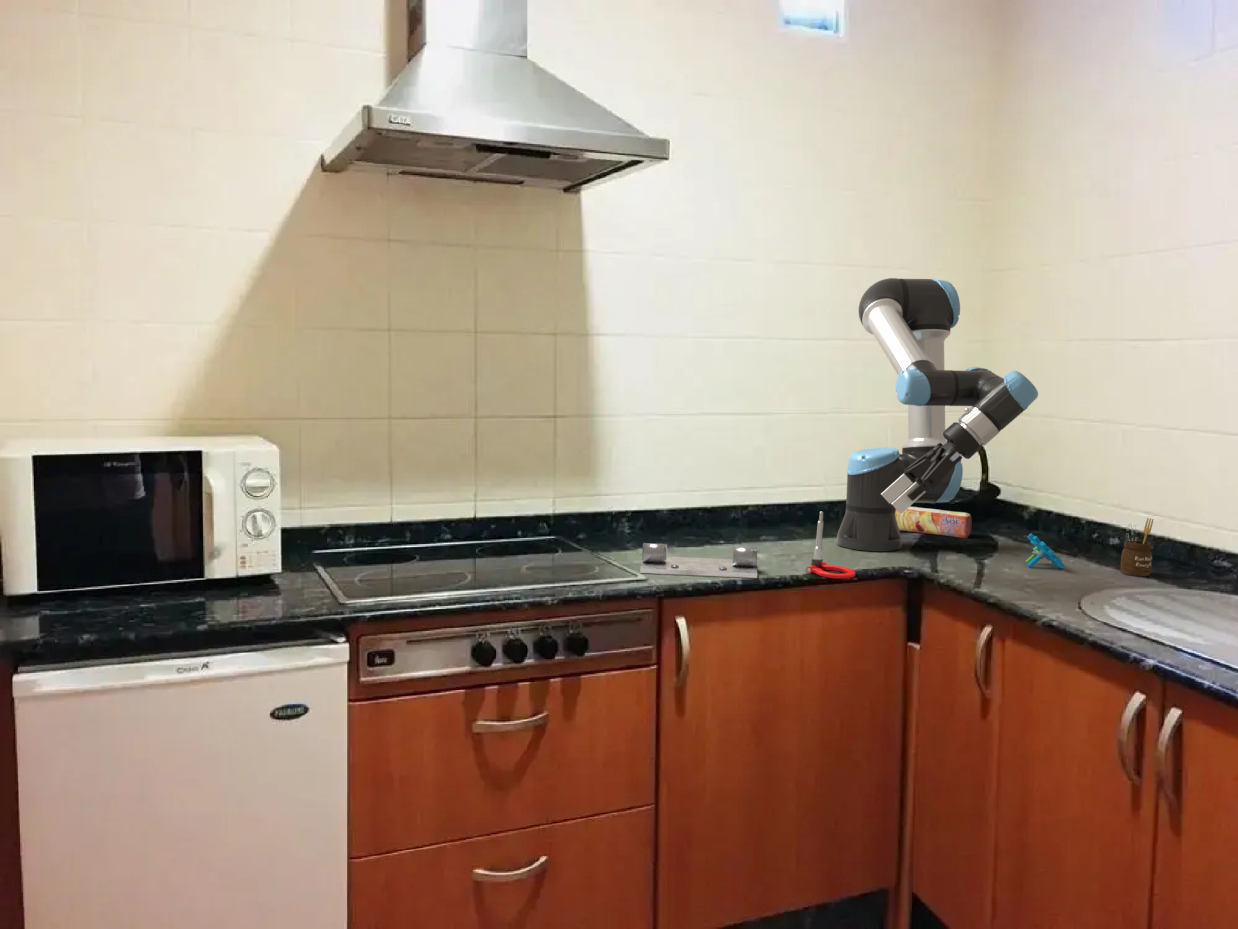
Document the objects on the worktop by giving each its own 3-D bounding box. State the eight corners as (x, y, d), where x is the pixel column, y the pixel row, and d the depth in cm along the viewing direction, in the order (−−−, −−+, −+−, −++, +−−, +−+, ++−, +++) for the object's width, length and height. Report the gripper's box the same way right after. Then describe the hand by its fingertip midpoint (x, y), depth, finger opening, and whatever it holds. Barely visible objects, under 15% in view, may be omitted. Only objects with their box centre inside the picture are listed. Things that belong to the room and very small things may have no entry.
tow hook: (861, 576, 216) (822, 567, 222) (867, 516, 214) (827, 508, 220) (842, 583, 210) (803, 573, 216) (848, 521, 208) (808, 513, 214)
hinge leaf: (644, 560, 225) (645, 537, 225) (755, 564, 223) (756, 542, 222) (640, 573, 212) (640, 549, 212) (757, 578, 210) (758, 554, 209)
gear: (1072, 566, 220) (1038, 532, 222) (1051, 585, 221) (1017, 550, 222) (1058, 563, 231) (1026, 530, 232) (1038, 580, 232) (1006, 547, 233)
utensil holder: (1113, 572, 224) (1118, 517, 222) (1134, 570, 226) (1139, 516, 225) (1136, 577, 218) (1141, 522, 217) (1157, 575, 221) (1162, 520, 219)
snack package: (972, 536, 264) (973, 510, 264) (966, 540, 259) (968, 513, 258) (890, 527, 275) (891, 502, 274) (883, 530, 269) (884, 505, 269)
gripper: (943, 416, 222) (869, 482, 225) (971, 424, 197) (887, 499, 200) (967, 441, 222) (892, 507, 225) (998, 453, 197) (914, 527, 200)
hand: (890, 503), depth 213 cm, fingers open, 13 cm apart
